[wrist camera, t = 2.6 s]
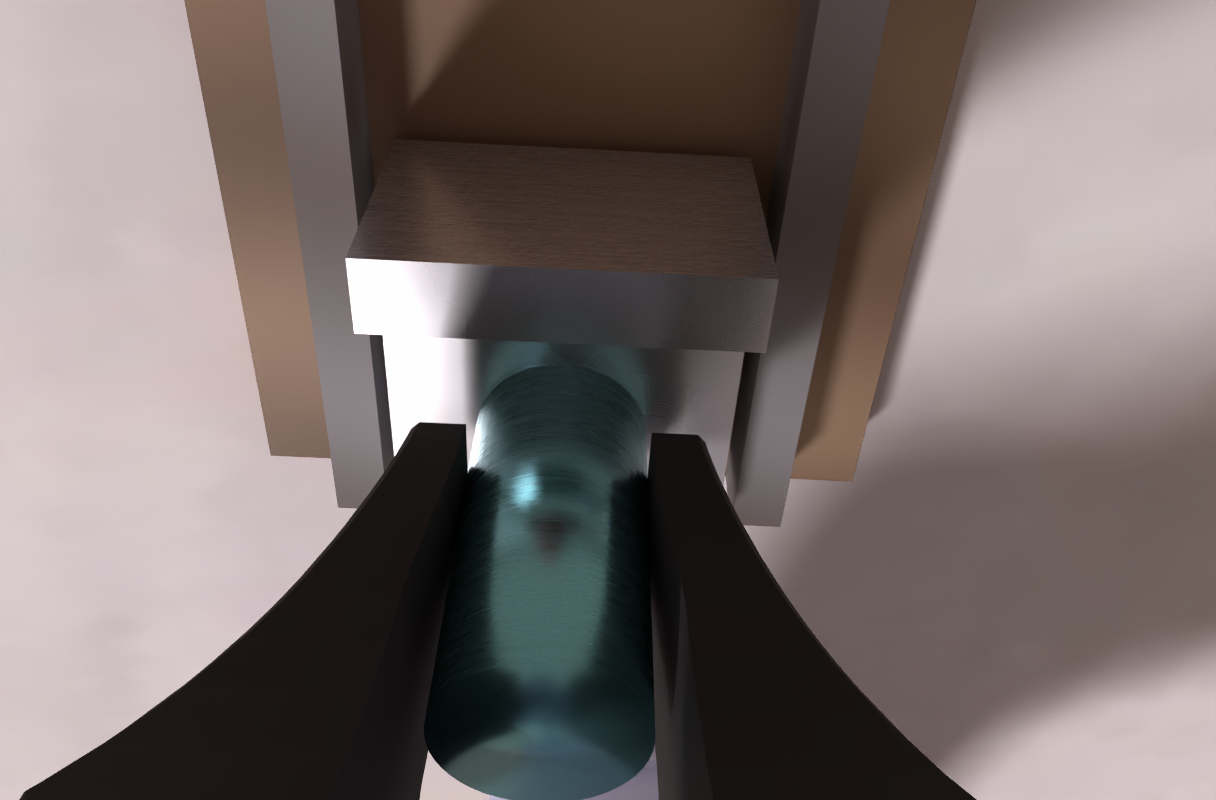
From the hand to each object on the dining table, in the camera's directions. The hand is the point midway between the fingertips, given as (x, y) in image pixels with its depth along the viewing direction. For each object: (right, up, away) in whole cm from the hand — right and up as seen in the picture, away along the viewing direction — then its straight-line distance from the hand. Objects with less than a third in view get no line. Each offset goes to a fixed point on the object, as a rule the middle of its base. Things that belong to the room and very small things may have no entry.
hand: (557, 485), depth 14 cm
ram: (0, +2, +2) cm, 3 cm away
